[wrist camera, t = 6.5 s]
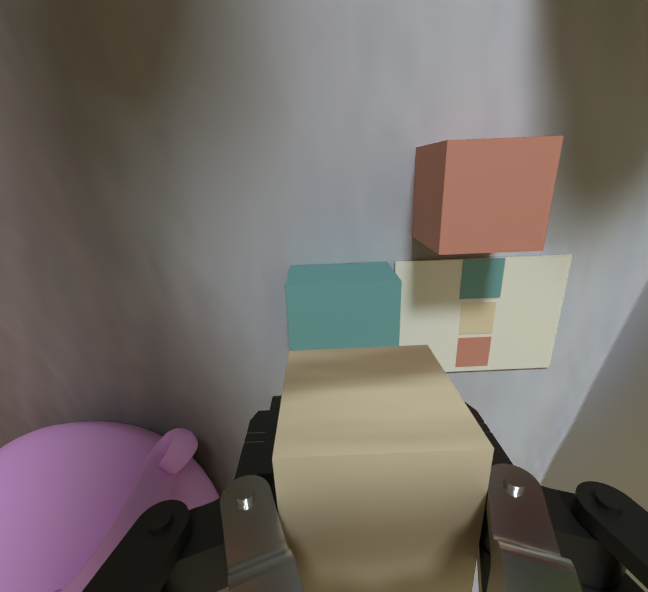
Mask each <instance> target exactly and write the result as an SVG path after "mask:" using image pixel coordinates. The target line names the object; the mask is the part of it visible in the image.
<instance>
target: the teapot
mask: <svg viewBox="0 0 648 592" xmlns="http://www.w3.org/2000/svg"><path fill="white" fill-rule="evenodd" d="M197 448H198V441H197V439H196V437H195V435H194V434H193V433H192V432H191V431H190V430H188V429H183V428H176V429H172V430H170V431H169V432H167V433H166V434H165V435H164V436H162V435H160V434H158V433H156V432H153V431H151V430H148V429H146V428H142V427H139V426H135V425H131V424H126V423H120V422H108V421H85V422H73V423H65V424H58V425H52V426H48V427H45V428H41V429H38V430H35V431H33V432H30V433H28V434H25V435H23V436H21V437H19V438H16V439H15V440H13V441H11V442H9V443H8V444H6V445H4V446H3V447H2V448H0V592H82V591H83V589H84V588H85V587H86V585H87V584H88V583H89V582H90V580H91V579H92V578H93V576H94V575H95V574H96V572H97V571H98V570H99V568H100V567H101V566H102V565H103V563H104V562H105V561H106V559H107V558H108V557H109V555H110V554H111V553H112V552H113V550H114V549H115V548H116V546H117V545H118V544H119V542H120V541H121V540H122V538H123V537H124V536H125V535H126V533H127V532H128V531H129V529H130V528H131V527H132V525H133V524H134V523H135V522H136V520H137V519H138V518H139V517H140V515H141V514H142V513H143V512H145V511H146V510H147V509H148V508H150V507H151V506H153V505H155V504H157V503H159V502H162V501H165V500H179V501H182V502H183V503H185V504H186V505H187V507H188V510H190V509H193V508H196V507H199V506H202V505H205V504H208V503H210V502H213V501H215V500H216V499H218V498H220V497H219V495H218V493H217V491H216V489H215V488H214V486H213V484H212V482H211V480H210V479H209V477H208V476H207V475H206V473H205V472H204V470H203V469H202V468H201V466H200V465H199V464H198V463H197V462H196V461H195V460H194V458H193V457H192V456H193V455H194V453H195V452H196V450H197Z"/></svg>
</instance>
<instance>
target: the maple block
mask: <svg viewBox="0 0 648 592" xmlns="http://www.w3.org/2000/svg"><path fill="white" fill-rule="evenodd" d="M493 452H494V447H493V446H492V444H491V443H490V441H489V440H488V438H487V437H486V435H485V433H484V432H483V430H482V429H481V427H480V426H479V424H478V423H477V421H476V419H475V418H474V416H473V415H472V413H471V412H470V410H469V409H468V407H467V405H466V404H465V402H464V401H463V399H462V398H461V396H460V395H459V393H458V391H457V390H456V388H455V387H454V385H453V384H452V382H451V381H450V379H449V377H448V376H447V374H446V373H445V371H444V370H443V368H442V367H441V365H440V363H439V362H438V360H437V359H436V357H435V356H434V354H433V353H432V351H431V349H430V348H429V346H428V345H410V346H387V347H365V348H342V349H320V350H297V351H289V354H288V360H287V366H286V373H285V379H284V386H283V392H282V398H281V405H280V411H279V418H278V424H277V430H276V437H275V443H274V449H273V456H272V462H273V471H274V480H275V489H276V497H277V506H278V515H279V519H280V523H281V526H282V530H283V533H284V537H285V540H286V544H287V547H288V549H291V551H292V554H293V556H294V560H295V563H296V566H297V570H298V573H299V576H300V580H301V583H302V586H303V590H304V592H472V586H473V580H474V573H475V567H476V560H477V554H478V548H479V541H480V535H481V529H482V522H483V516H484V510H485V503H486V497H487V491H488V484H489V478H490V471H491V465H492V459H493Z"/></svg>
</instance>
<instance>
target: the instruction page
mask: <svg viewBox="0 0 648 592" xmlns="http://www.w3.org/2000/svg"><path fill="white" fill-rule="evenodd" d="M572 256H573V255H572V254H562V255H538V256H514V257H490V258H466V259H442V260H418V261H395V273H396V274H397V275H398V277H399V278H400V279H401V281H402V287H401V312H400V337H399V346H410V345H428V346H429V348H430V349H431V351H432V353H433V354H434V356H435V357H436V359H437V360H438V362H439V363H440V365H441V367H442V368H443V370H444V371H445V372H455V371H478V370H500V369H523V368H546V367H549V366H550V361H551V356H552V351H553V347H554V342H555V337H556V332H557V328H558V323H559V318H560V313H561V308H562V304H563V299H564V294H565V289H566V285H567V280H568V275H569V270H570V265H571V261H572Z"/></svg>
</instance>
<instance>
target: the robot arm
mask: <svg viewBox="0 0 648 592" xmlns="http://www.w3.org/2000/svg"><path fill="white" fill-rule="evenodd" d="M281 398H282V396H273V397H272V402H271V407H270V410H267V411H258V412H257V413H256V414H255V416H254V417H253V418H252V419H251V420H250V423H249V427H248V431H247V434H246V438H245V443H244V446H243V449H242V453H241V457H240V461H239V464H238V468H237V472H236V476H235V479H234V481H232V482H231V483H230V484H229V485H228V486H227V487H226V488H225V489H224V491H223V492H222V495H221V497H220V498H218V499H216V500H215V501H213V502H210V503H208V504H205V505H202V506H199V507H196V508H193V509H190V510H188V507H187V505H186V504H185V503H183V502H182V501H179V500H165V501H162V502H159V503H157V504H155V505H153V506H151V507H150V508H148V509H147V510H146V511H145V512H143V513H142V514H141V515H140V517H139V518H138V519H137V520H136V522H135V523H134V524H133V525H132V527H131V528H130V529H129V531H128V532H127V533H126V535H125V536H124V537H123V538H122V540H121V541H120V542H119V544H118V545H117V546H116V548H115V549H114V550H113V552H112V553H111V554H110V555H109V557H108V558H107V559H106V561H105V562H104V563H103V565H102V566H101V567H100V568H99V570H98V571H97V572H96V574H95V575H94V576H93V578H92V579H91V580H90V582H89V583H88V584H87V585H86V587H85V588H84V589H83V591H82V592H216V591H218V590H221V589H223V588H226V587H229V592H304V590H303V586H302V583H301V580H300V576H299V573H298V570H297V566H296V563H295V560H294V556H293V554H292V551H291V549H288V547H287V544H286V540H285V537H284V533H283V530H282V526H281V523H280V519H279V515H278V506H277V497H276V489H275V480H274V471H273V462H272V456H273V449H274V443H275V437H276V430H277V424H278V418H279V411H280V405H281ZM465 404H466V405H467V407H468V409H469V410H470V412H471V413H472V415H473V416H474V418H475V419H476V421H477V423H478V424H479V426H480V427H481V429H482V430H483V432H484V433H485V435H486V437H487V438H488V440H489V441H490V443H491V444H492V446H493V447H494V452H493V459H492V465H491V471H490V478H489V484H488V491H487V497H486V503H485V510H484V516H483V522H482V529H481V535H480V541H479V548H478V554H477V567H478V582H479V592H644V591H643V590H642V589H641V588H640V587H639V586H638V585H637V584H636V583H635V582H634V581H633V580H632V579H631V578H630V577H629V576H628V575H627V574H626V573H625V572H626V569H628V570H629V571H630V572H631V573H632V574H633V575H634V576H635V577H636V578H637V579H638V580H639V581H640V582H641V583H642V584H643V585H644V586H645V587H646V588H647V589H648V512H647V511H646V510H645V509H643V508H642V507H641V506H640V505H638V504H637V503H636V502H635V501H633V500H632V499H631V498H630V497H628V496H627V495H626V494H624V493H623V492H621V491H619V490H618V489H616V488H614V487H611V486H609V485H606V484H603V483H599V482H592V481H590V482H588V481H587V482H583V483H581V484H579V485H578V486H577V488H576V492H575V494H574V493H569V492H564V491H560V490H555V489H550V488H547V487H543V486H541V485H540V484H539V482H538V481H537V480H536V478H535V477H534V476H532V475H531V474H530V473H529V472H527V471H526V470H524V469H522V468H520V467H517V466H515V465H513V464H512V462H511V461H510V459H509V458H508V456H507V455H506V453H505V452H504V451H503V449H502V448H501V446H500V445H499V443H498V442H497V440H496V439H495V437H494V436H493V434H492V433H490V430H489V428H488V427H487V425H486V424H484V421H483V419H482V418H481V416H480V415H479V413H478V412H477V411H476V410H475V409H474V408H472V407H471V406H470V405H468V404H467V403H466V402H465Z"/></svg>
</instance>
